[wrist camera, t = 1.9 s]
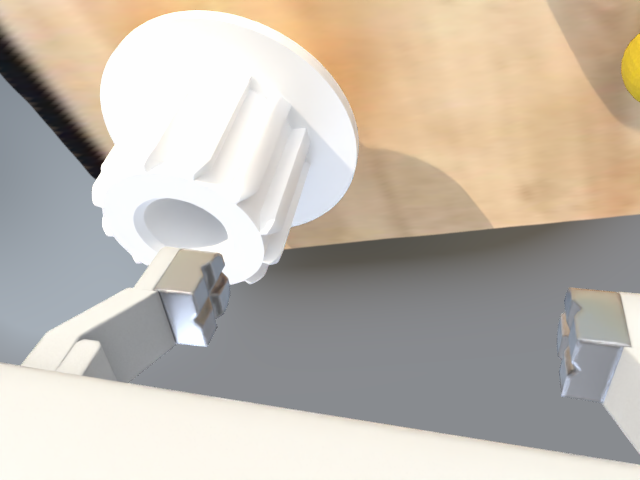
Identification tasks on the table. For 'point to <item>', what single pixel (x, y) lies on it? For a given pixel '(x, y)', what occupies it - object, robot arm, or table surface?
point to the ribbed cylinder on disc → (219, 140)
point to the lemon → (632, 67)
